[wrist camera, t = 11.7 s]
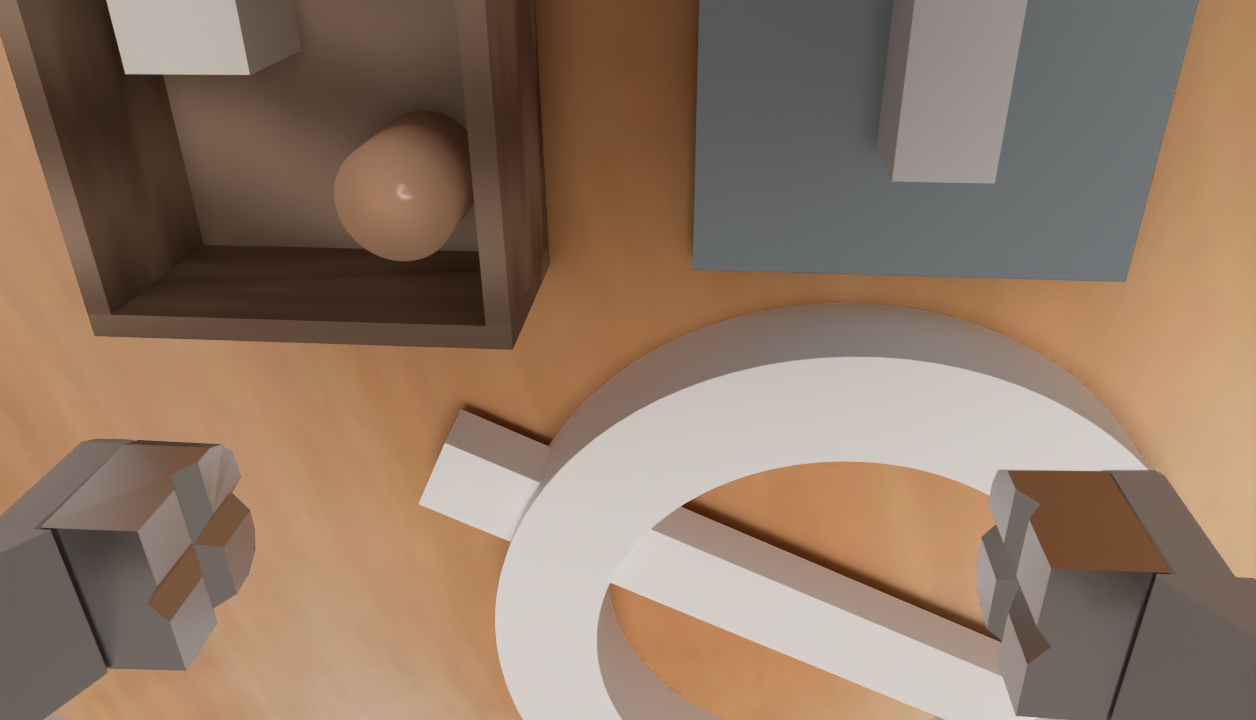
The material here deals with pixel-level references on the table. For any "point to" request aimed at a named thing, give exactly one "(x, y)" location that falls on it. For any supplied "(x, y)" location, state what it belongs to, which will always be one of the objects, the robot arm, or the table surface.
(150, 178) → the walnut box
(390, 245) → the terracotta egg
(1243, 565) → the table surface
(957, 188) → the lid
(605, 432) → the ring with crossbar
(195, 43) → the ivory block
